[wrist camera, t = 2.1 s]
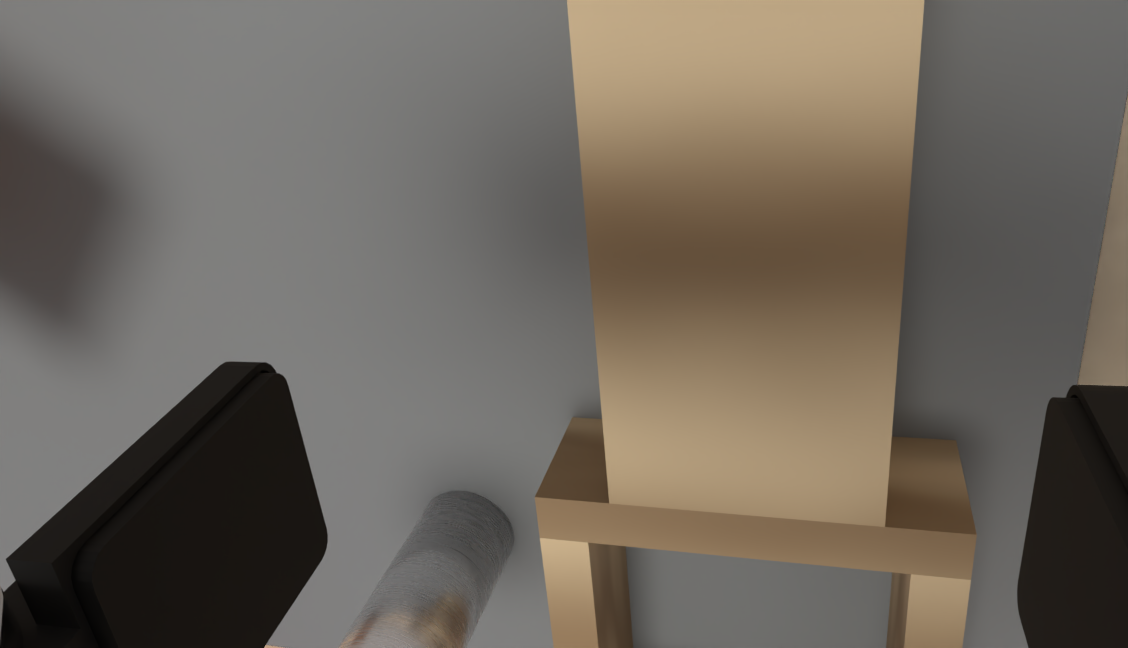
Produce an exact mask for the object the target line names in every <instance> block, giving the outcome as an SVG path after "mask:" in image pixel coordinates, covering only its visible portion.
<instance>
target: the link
mask: <svg viewBox="0 0 1128 648" xmlns="http://www.w3.org/2000/svg"><path fill="white" fill-rule="evenodd" d="M567 8H568V19H569V31H570V43H571V55H572V67H573V79H574V91H575V103H576V114H577V126H578V138H579V150H580V162H581V174H582V186H583V198H584V209H585V221H586V233H587V245H588V257H589V269H590V281H591V293H592V304H593V316H594V328H595V340H596V352H597V364H598V376H599V387H600V399H601V411H602V419H592V418H575V417H572V419H571V421H570V423H569V425H568V427H567V430H566V432H565V434H564V436H563V438H562V440H561V442H560V444H559V447H558V449H557V451H556V453H555V455H554V457H553V459H552V461H551V464H550V466H549V468H548V470H547V472H546V474H545V476H544V478H543V481H542V483H541V485H540V487H539V489H538V491H537V493H536V495H535V504H536V512H537V520H538V527H539V535H540V543H541V551H542V559H543V567H544V575H545V583H546V591H547V599H548V606H549V614H550V622H551V630H552V638H553V646H554V648H633V637H632V624H631V611H630V598H629V585H628V572H627V559H626V546H627V547H638V548H648V549H658V550H668V551H679V552H689V553H699V554H709V555H719V556H730V557H740V558H750V559H760V560H771V561H781V562H791V563H801V564H812V565H822V566H832V567H842V568H852V569H863V570H873V571H883V572H892V582H891V594H890V606H889V619H888V631H887V643H886V648H962V646H963V638H964V631H965V623H966V615H967V607H968V599H969V592H970V584H971V576H972V568H973V561H974V553H975V545H976V537H977V533H976V529H975V524H974V520H973V515H972V511H971V506H970V501H969V497H968V492H967V488H966V483H965V479H964V474H963V469H962V465H961V460H960V456H959V451H958V447H957V442H956V440H943V439H926V438H909V437H893V436H892V426H893V413H894V400H895V386H896V373H897V360H898V346H899V333H900V319H901V306H902V293H903V279H904V266H905V253H906V239H907V226H908V213H909V199H910V186H911V173H912V159H913V146H914V133H915V119H916V106H917V93H918V79H919V66H920V53H921V39H922V26H923V13H924V0H567Z"/></svg>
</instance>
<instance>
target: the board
mask: <svg viewBox="0 0 1128 648" xmlns="http://www.w3.org/2000/svg"><path fill="white" fill-rule="evenodd" d="M1127 94H1128V0H924V13H923V26H922V39H921V53H920V66H919V79H918V93H917V106H916V119H915V133H914V146H913V159H912V173H911V186H910V199H909V213H908V226H907V239H906V253H905V266H904V279H903V293H902V306H901V319H900V333H899V346H898V360H897V373H896V386H895V400H894V413H893V426H892V436H893V437H909V438H926V439H943V440H956V442H957V447H958V451H959V456H960V460H961V465H962V469H963V474H964V479H965V483H966V488H967V492H968V497H969V501H970V506H971V511H972V515H973V520H974V524H975V529H976V533H977V537H976V545H975V553H974V561H973V568H972V576H971V584H970V592H969V599H968V607H967V615H966V623H965V631H964V638H963V646H962V648H1028V644H1027V641H1026V637H1025V634H1024V631H1023V627H1022V624H1021V620H1020V616H1019V612H1018V604H1017V585H1018V578H1019V572H1020V566H1021V560H1022V554H1023V548H1024V542H1025V536H1026V530H1027V524H1028V518H1029V511H1030V505H1031V499H1032V493H1033V487H1034V481H1035V475H1036V469H1037V463H1038V457H1039V451H1040V445H1041V439H1042V433H1043V427H1044V421H1045V415H1046V410H1047V405H1048V403H1049V400H1050V399H1051V398H1052V397H1061V398H1066V395H1067V392H1068V390H1069V388H1070V387H1071V386H1072V385H1077V383H1078V378H1079V372H1080V366H1081V360H1082V354H1083V349H1084V343H1085V337H1086V331H1087V325H1088V320H1089V314H1090V308H1091V302H1092V297H1093V291H1094V285H1095V279H1096V273H1097V268H1098V262H1099V256H1100V250H1101V244H1102V239H1103V233H1104V227H1105V221H1106V215H1107V210H1108V204H1109V198H1110V192H1111V186H1112V181H1113V175H1114V169H1115V163H1116V157H1117V152H1118V146H1119V140H1120V134H1121V128H1122V123H1123V117H1124V111H1125V105H1126V99H1127ZM230 361H235V362H267V363H268V364H270V365H272V366H273V368H274V369H275V370H276V373H279V374H281V375H283V376H284V377H285V379H286V380H287V383H288V386H289V390H290V393H291V397H292V401H293V404H294V408H295V412H296V416H297V419H298V423H299V427H300V431H301V434H302V438H303V442H304V446H305V449H306V453H307V457H308V461H309V464H310V468H311V472H312V475H313V479H314V483H315V487H316V490H317V494H318V498H319V502H320V505H321V509H322V513H323V517H324V520H325V524H326V528H327V533H328V543H327V549H326V552H325V555H324V557H323V559H322V561H321V562H320V564H319V565H318V567H317V568H316V570H315V571H314V573H313V574H312V576H311V577H310V579H309V580H308V582H307V583H306V585H305V586H304V588H303V589H302V591H301V592H300V594H299V595H298V597H297V598H296V600H295V601H294V603H293V605H292V606H291V608H290V609H289V611H288V612H287V614H286V615H285V617H284V618H283V620H282V621H281V623H280V624H279V626H278V627H277V629H276V630H275V632H274V633H273V635H272V636H271V638H270V639H269V641H268V642H267V644H266V645H271V646H278V647H285V648H338V646H339V644H340V643H341V641H342V640H343V638H344V637H345V635H346V633H347V632H348V630H349V629H350V627H351V626H352V624H353V622H354V621H355V619H356V618H357V616H358V614H359V613H360V611H361V610H362V608H363V607H364V605H365V603H366V602H367V600H368V599H369V597H370V596H371V594H372V592H373V591H374V589H375V588H376V586H377V584H378V583H379V581H380V580H381V578H382V577H383V575H384V573H385V572H386V570H387V569H388V567H389V566H390V564H391V562H392V561H393V559H394V558H395V556H396V554H397V553H398V551H399V550H400V548H401V547H402V545H403V543H404V542H405V540H406V539H407V537H408V536H409V534H410V532H411V531H412V529H413V528H414V526H415V524H416V523H417V521H418V520H419V518H420V517H421V515H422V513H423V512H424V510H425V509H426V507H427V506H428V504H429V503H430V501H431V500H432V499H434V498H435V497H436V496H438V495H440V494H442V493H445V492H449V491H467V492H471V493H475V494H478V495H480V496H482V497H484V498H486V499H488V500H490V501H491V502H493V503H494V504H495V505H496V506H498V507H499V508H500V509H501V510H502V511H503V513H504V514H505V515H506V517H507V518H508V520H509V521H510V523H511V526H512V528H513V532H514V546H513V550H512V552H511V554H510V556H509V558H508V560H507V562H506V564H505V567H504V569H503V571H502V573H501V575H500V577H499V579H498V582H497V584H496V586H495V588H494V590H493V592H492V594H491V597H490V599H489V601H488V603H487V605H486V607H485V609H484V612H483V614H482V616H481V618H480V620H479V622H478V624H477V626H476V629H475V631H474V633H473V635H472V637H471V639H470V641H469V644H468V646H467V648H554V646H553V638H552V630H551V622H550V614H549V606H548V599H547V591H546V583H545V575H544V567H543V559H542V551H541V543H540V535H539V527H538V520H537V512H536V504H535V495H536V493H537V491H538V489H539V487H540V485H541V483H542V481H543V478H544V476H545V474H546V472H547V470H548V468H549V466H550V464H551V461H552V459H553V457H554V455H555V453H556V451H557V449H558V447H559V444H560V442H561V440H562V438H563V436H564V434H565V432H566V430H567V427H568V425H569V423H570V421H571V419H572V417H575V418H592V419H602V411H601V399H600V387H599V376H598V364H597V352H596V340H595V328H594V316H593V304H592V293H591V281H590V269H589V257H588V245H587V233H586V221H585V209H584V198H583V186H582V174H581V162H580V150H579V138H578V126H577V114H576V103H575V91H574V79H573V67H572V55H571V43H570V31H569V19H568V8H567V0H0V586H1V588H2V590H3V592H4V591H5V590H6V589H7V588H8V587H9V586H10V585H11V584H13V583H14V582H15V581H16V580H15V578H14V576H13V574H12V572H11V570H10V568H9V565H8V563H7V561H6V558H7V557H9V556H10V555H11V554H12V553H13V552H14V551H15V550H16V549H17V548H19V547H20V546H21V545H22V544H23V543H24V542H25V541H26V540H27V539H28V538H30V537H31V536H32V535H33V534H34V533H35V532H36V531H37V530H38V529H40V528H41V527H42V526H43V525H44V524H45V523H46V522H47V521H48V520H49V519H51V518H52V517H53V516H54V515H55V514H56V513H57V512H58V511H59V510H61V509H62V508H63V507H64V506H65V505H66V504H67V503H68V502H69V501H70V500H72V499H73V498H74V497H75V496H76V495H77V494H78V493H79V492H80V491H82V490H83V489H84V488H85V487H86V486H87V485H88V484H89V483H90V482H91V481H93V480H94V479H95V478H96V477H97V476H98V475H99V474H100V473H101V472H103V471H104V470H105V469H106V468H107V467H108V466H109V465H110V464H111V463H113V462H114V461H115V460H116V459H117V458H118V457H119V456H120V455H121V454H122V453H124V452H125V451H126V450H127V449H128V448H129V447H130V446H131V445H132V444H134V443H135V442H136V441H137V440H138V439H139V438H140V437H141V436H142V435H143V434H145V433H146V432H147V431H148V430H149V429H150V428H151V427H152V426H153V425H155V424H156V423H157V422H158V421H159V420H160V419H161V418H162V417H163V416H164V415H166V414H167V413H168V412H169V411H170V410H171V409H172V408H173V407H174V406H176V405H177V404H178V403H179V402H180V401H181V400H182V399H183V398H184V397H185V396H187V395H188V394H189V393H190V392H191V391H192V390H193V389H194V388H195V387H197V386H198V385H199V384H200V383H201V382H202V381H203V380H204V379H205V378H206V377H208V376H209V375H210V374H211V373H212V372H213V371H214V370H215V369H216V368H218V367H219V366H220V365H221V364H223V363H225V362H230ZM626 559H627V572H628V585H629V598H630V611H631V624H632V637H633V648H886V643H887V631H888V619H889V606H890V594H891V582H892V572H883V571H873V570H863V569H852V568H842V567H832V566H822V565H812V564H801V563H791V562H781V561H771V560H760V559H750V558H740V557H730V556H719V555H709V554H699V553H689V552H679V551H668V550H658V549H648V548H638V547H627V546H626Z"/></svg>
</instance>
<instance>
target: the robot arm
mask: <svg viewBox="0 0 1128 648" xmlns="http://www.w3.org/2000/svg"><path fill="white" fill-rule="evenodd" d="M327 543H328V533H327V528H326V524H325V520H324V517H323V513H322V509H321V505H320V502H319V498H318V494H317V490H316V487H315V483H314V479H313V475H312V472H311V468H310V464H309V461H308V457H307V453H306V449H305V446H304V442H303V438H302V434H301V431H300V427H299V423H298V419H297V416H296V412H295V408H294V404H293V401H292V397H291V393H290V390H289V386H288V383H287V380H286V379H285V377H284V376H283V375H281V374H279V373H276V370H275V369H274V368H273V366H272V365H270V364H268V363H267V362H235V361H230V362H225V363H223V364H221V365H220V366H219V367H218V368H216V369H215V370H214V371H213V372H212V373H211V374H210V375H209V376H208V377H206V378H205V379H204V380H203V381H202V382H201V383H200V384H199V385H198V386H197V387H195V388H194V389H193V390H192V391H191V392H190V393H189V394H188V395H187V396H185V397H184V398H183V399H182V400H181V401H180V402H179V403H178V404H177V405H176V406H174V407H173V408H172V409H171V410H170V411H169V412H168V413H167V414H166V415H164V416H163V417H162V418H161V419H160V420H159V421H158V422H157V423H156V424H155V425H153V426H152V427H151V428H150V429H149V430H148V431H147V432H146V433H145V434H143V435H142V436H141V437H140V438H139V439H138V440H137V441H136V442H135V443H134V444H132V445H131V446H130V447H129V448H128V449H127V450H126V451H125V452H124V453H122V454H121V455H120V456H119V457H118V458H117V459H116V460H115V461H114V462H113V463H111V464H110V465H109V466H108V467H107V468H106V469H105V470H104V471H103V472H101V473H100V474H99V475H98V476H97V477H96V478H95V479H94V480H93V481H91V482H90V483H89V484H88V485H87V486H86V487H85V488H84V489H83V490H82V491H80V492H79V493H78V494H77V495H76V496H75V497H74V498H73V499H72V500H70V501H69V502H68V503H67V504H66V505H65V506H64V507H63V508H62V509H61V510H59V511H58V512H57V513H56V514H55V515H54V516H53V517H52V518H51V519H49V520H48V521H47V522H46V523H45V524H44V525H43V526H42V527H41V528H40V529H38V530H37V531H36V532H35V533H34V534H33V535H32V536H31V537H30V538H28V539H27V540H26V541H25V542H24V543H23V544H22V545H21V546H20V547H19V548H17V549H16V550H15V551H14V552H13V553H12V554H11V555H10V556H9V557H7V558H6V561H7V563H8V565H9V568H10V570H11V572H12V574H13V576H14V578H15V580H16V581H15V582H14V583H13V584H11V585H10V586H9V587H8V588H7V589H6V590H5V591H4V592H3V590H2V588H1V586H0V648H264V647H265V645H266V644H267V642H268V641H269V639H270V638H271V636H272V635H273V633H274V632H275V630H276V629H277V627H278V626H279V624H280V623H281V621H282V620H283V618H284V617H285V615H286V614H287V612H288V611H289V609H290V608H291V606H292V605H293V603H294V601H295V600H296V598H297V597H298V595H299V594H300V592H301V591H302V589H303V588H304V586H305V585H306V583H307V582H308V580H309V579H310V577H311V576H312V574H313V573H314V571H315V570H316V568H317V567H318V565H319V564H320V562H321V561H322V559H323V557H324V555H325V552H326V549H327ZM1017 604H1018V612H1019V616H1020V620H1021V624H1022V627H1023V631H1024V634H1025V637H1026V641H1027V644H1028V648H1128V386H1098V385H1072V386H1071V387H1070V388H1069V390H1068V392H1067V395H1066V398H1061V397H1052V398H1051V399H1050V400H1049V403H1048V405H1047V410H1046V415H1045V421H1044V427H1043V433H1042V439H1041V445H1040V451H1039V457H1038V463H1037V469H1036V475H1035V481H1034V487H1033V493H1032V499H1031V505H1030V511H1029V518H1028V524H1027V530H1026V536H1025V542H1024V548H1023V554H1022V560H1021V566H1020V572H1019V578H1018V585H1017Z"/></svg>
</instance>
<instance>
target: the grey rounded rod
mask: <svg viewBox="0 0 1128 648" xmlns="http://www.w3.org/2000/svg"><path fill="white" fill-rule="evenodd" d="M513 546H514V532H513V528H512V526H511V523H510V521H509V520H508V518H507V517H506V515H505V514H504V513H503V511H502V510H501V509H500V508H499V507H498V506H496V505H495V504H494V503H493V502H491V501H490V500H488V499H486V498H484V497H482V496H480V495H478V494H475V493H471V492H467V491H449V492H445V493H442V494H440V495H438V496H436V497H435V498H434V499H432V500H431V501H430V503H429V504H428V506H427V507H426V509H425V510H424V512H423V513H422V515H421V517H420V518H419V520H418V521H417V523H416V524H415V526H414V528H413V529H412V531H411V532H410V534H409V536H408V537H407V539H406V540H405V542H404V543H403V545H402V547H401V548H400V550H399V551H398V553H397V554H396V556H395V558H394V559H393V561H392V562H391V564H390V566H389V567H388V569H387V570H386V572H385V573H384V575H383V577H382V578H381V580H380V581H379V583H378V584H377V586H376V588H375V589H374V591H373V592H372V594H371V596H370V597H369V599H368V600H367V602H366V603H365V605H364V607H363V608H362V610H361V611H360V613H359V614H358V616H357V618H356V619H355V621H354V622H353V624H352V626H351V627H350V629H349V630H348V632H347V633H346V635H345V637H344V638H343V640H342V641H341V643H340V644H339V646H338V648H467V646H468V644H469V641H470V639H471V637H472V635H473V633H474V631H475V629H476V626H477V624H478V622H479V620H480V618H481V616H482V614H483V612H484V609H485V607H486V605H487V603H488V601H489V599H490V597H491V594H492V592H493V590H494V588H495V586H496V584H497V582H498V579H499V577H500V575H501V573H502V571H503V569H504V567H505V564H506V562H507V560H508V558H509V556H510V554H511V552H512V550H513Z"/></svg>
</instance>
